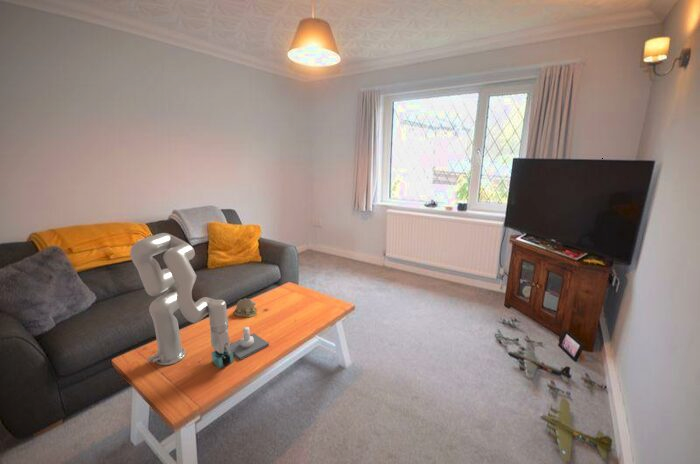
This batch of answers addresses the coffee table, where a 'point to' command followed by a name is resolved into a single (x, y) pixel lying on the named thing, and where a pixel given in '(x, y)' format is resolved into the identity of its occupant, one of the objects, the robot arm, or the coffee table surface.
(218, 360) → the collar
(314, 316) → the coffee table surface
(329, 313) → the coffee table surface
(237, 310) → the ceramic model
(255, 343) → the post plate
